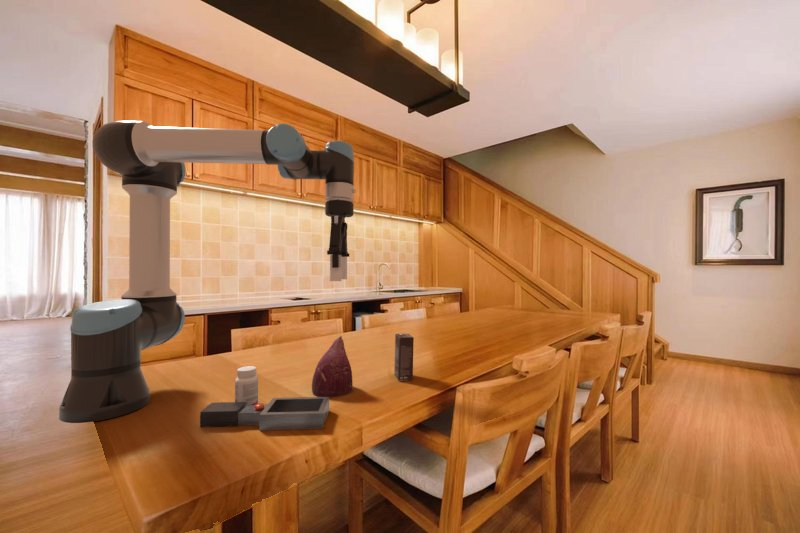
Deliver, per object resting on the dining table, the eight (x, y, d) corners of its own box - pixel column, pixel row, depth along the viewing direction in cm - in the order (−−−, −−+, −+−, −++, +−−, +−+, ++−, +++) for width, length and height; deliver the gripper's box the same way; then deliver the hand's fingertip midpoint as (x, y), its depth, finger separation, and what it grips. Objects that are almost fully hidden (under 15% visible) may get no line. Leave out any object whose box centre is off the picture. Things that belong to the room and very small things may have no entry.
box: (414, 380, 95) (414, 337, 95) (398, 381, 94) (398, 337, 94) (408, 373, 101) (408, 333, 101) (393, 374, 100) (394, 333, 100)
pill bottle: (262, 401, 79) (262, 365, 79) (251, 410, 74) (251, 371, 74) (242, 401, 80) (242, 365, 80) (230, 409, 75) (230, 371, 75)
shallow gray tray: (194, 432, 65) (194, 415, 65) (216, 413, 73) (216, 398, 73) (322, 428, 66) (322, 412, 66) (329, 410, 74) (329, 395, 75)
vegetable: (336, 393, 94) (344, 337, 98) (359, 398, 86) (366, 338, 90) (302, 392, 87) (311, 333, 91) (324, 398, 79) (333, 333, 83)
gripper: (349, 191, 79) (348, 282, 79) (356, 209, 104) (356, 278, 104) (316, 190, 79) (316, 282, 79) (332, 209, 104) (331, 278, 104)
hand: (339, 280), depth 92 cm, fingers open, 13 cm apart
